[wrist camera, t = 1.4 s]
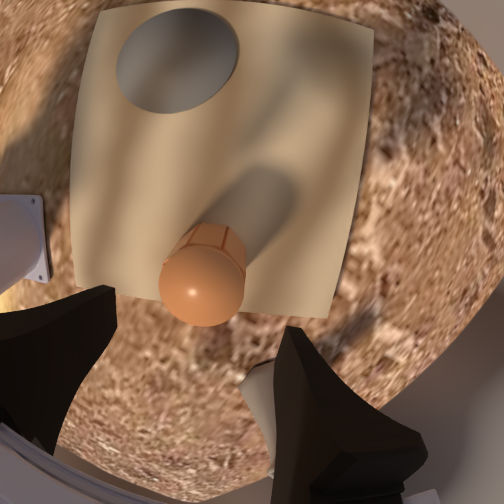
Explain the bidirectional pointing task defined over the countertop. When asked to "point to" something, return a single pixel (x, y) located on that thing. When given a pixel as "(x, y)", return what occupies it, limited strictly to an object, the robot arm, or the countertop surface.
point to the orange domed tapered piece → (204, 276)
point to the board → (220, 145)
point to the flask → (262, 405)
